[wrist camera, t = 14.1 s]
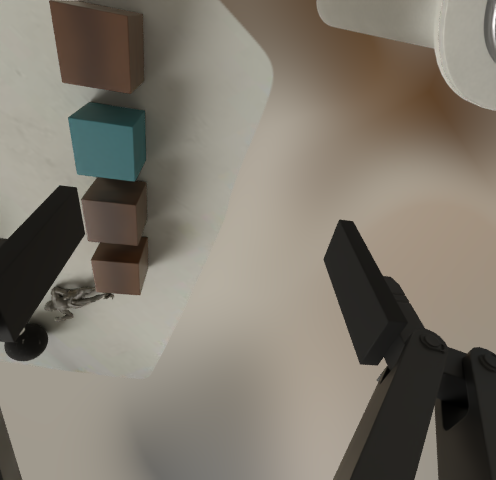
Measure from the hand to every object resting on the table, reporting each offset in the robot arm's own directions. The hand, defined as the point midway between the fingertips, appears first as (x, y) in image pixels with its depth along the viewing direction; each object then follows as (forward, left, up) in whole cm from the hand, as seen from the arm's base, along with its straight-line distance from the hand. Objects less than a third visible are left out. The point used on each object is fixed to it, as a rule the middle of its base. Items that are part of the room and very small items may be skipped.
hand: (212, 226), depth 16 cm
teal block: (+11, +5, -25) cm, 27 cm away
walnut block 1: (+11, -4, -25) cm, 27 cm away
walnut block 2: (+11, +14, -25) cm, 30 cm away
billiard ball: (+28, +43, -25) cm, 57 cm away
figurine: (+19, +33, -25) cm, 45 cm away
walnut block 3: (+11, +23, -25) cm, 35 cm away
